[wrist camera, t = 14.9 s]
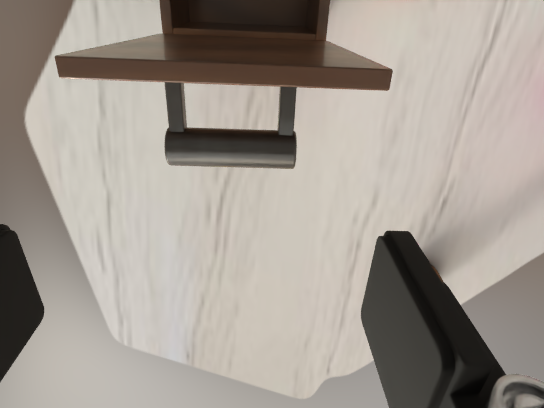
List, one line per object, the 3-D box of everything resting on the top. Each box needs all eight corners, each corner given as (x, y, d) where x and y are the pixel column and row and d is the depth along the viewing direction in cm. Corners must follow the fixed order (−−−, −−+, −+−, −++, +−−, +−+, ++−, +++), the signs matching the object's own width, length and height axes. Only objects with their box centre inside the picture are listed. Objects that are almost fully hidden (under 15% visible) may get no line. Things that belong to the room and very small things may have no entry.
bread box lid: (53, 55, 13) (81, 180, 15) (393, 69, 14) (371, 188, 16) (161, 33, 27) (167, 100, 30) (326, 40, 28) (320, 106, 30)
